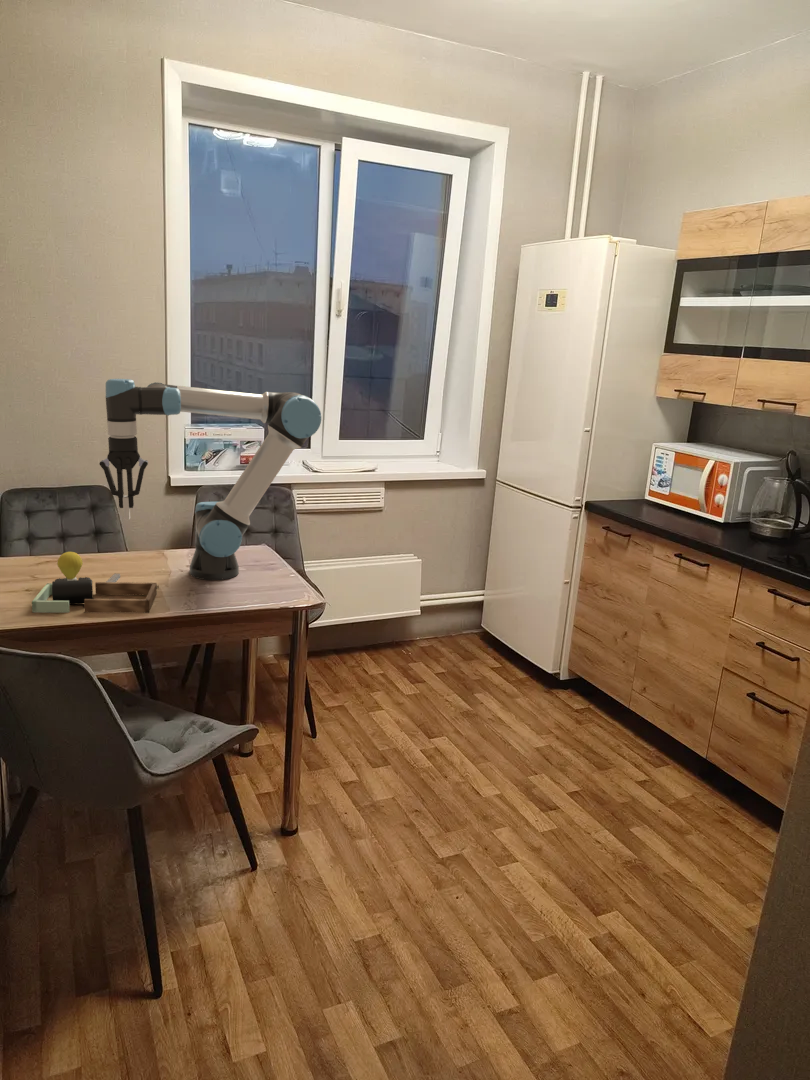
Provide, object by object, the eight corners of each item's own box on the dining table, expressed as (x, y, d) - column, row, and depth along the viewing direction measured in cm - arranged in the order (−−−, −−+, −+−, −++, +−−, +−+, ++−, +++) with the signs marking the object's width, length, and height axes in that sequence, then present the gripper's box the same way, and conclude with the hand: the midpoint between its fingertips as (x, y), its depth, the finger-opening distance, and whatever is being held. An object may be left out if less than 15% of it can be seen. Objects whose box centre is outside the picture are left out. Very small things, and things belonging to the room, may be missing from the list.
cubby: (156, 594, 221) (156, 582, 220) (149, 612, 206) (149, 600, 205) (96, 593, 217) (96, 582, 217) (84, 612, 203) (84, 600, 202)
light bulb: (74, 589, 219) (72, 556, 217) (53, 586, 220) (51, 553, 218) (88, 583, 226) (86, 550, 223) (67, 580, 227) (66, 547, 224)
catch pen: (81, 593, 217) (81, 583, 216) (68, 612, 203) (68, 601, 202) (47, 593, 215) (47, 583, 214) (32, 612, 201) (31, 601, 200)
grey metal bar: (109, 589, 223) (109, 584, 222) (104, 589, 223) (103, 583, 222) (120, 578, 232) (120, 573, 232) (114, 578, 232) (114, 573, 232)
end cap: (52, 608, 205) (51, 584, 203) (54, 599, 211) (52, 576, 209) (93, 606, 208) (92, 583, 206) (93, 597, 215) (92, 575, 213)
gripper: (148, 434, 215) (152, 515, 222) (99, 433, 212) (104, 516, 218) (146, 438, 208) (150, 521, 215) (95, 437, 205) (101, 522, 211)
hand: (127, 518), depth 217 cm, fingers closed
